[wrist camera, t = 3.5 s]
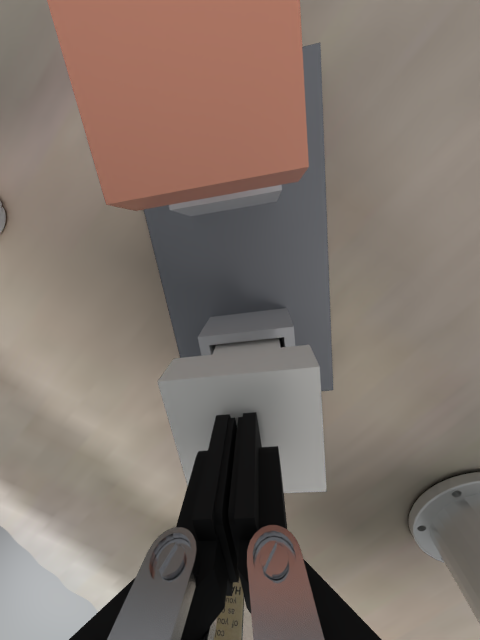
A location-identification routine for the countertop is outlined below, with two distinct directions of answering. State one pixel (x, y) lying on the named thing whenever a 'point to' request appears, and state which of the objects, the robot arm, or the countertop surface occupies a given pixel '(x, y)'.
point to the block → (253, 256)
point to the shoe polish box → (231, 616)
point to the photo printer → (2, 217)
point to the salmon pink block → (187, 95)
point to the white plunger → (251, 404)
